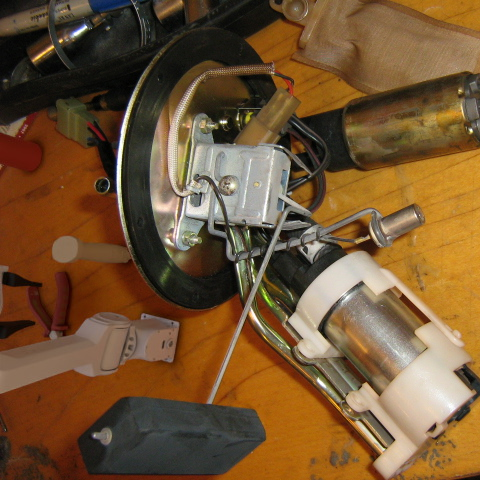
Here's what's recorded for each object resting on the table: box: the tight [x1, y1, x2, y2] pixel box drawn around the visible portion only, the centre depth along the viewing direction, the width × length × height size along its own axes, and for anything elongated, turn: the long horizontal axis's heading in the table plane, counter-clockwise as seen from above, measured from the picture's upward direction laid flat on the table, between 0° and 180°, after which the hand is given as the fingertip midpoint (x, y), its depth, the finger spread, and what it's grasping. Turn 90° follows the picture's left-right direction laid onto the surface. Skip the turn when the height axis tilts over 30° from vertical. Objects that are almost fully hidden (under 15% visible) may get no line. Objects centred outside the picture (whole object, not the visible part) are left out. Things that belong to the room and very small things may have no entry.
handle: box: [51, 235, 132, 264], centre depth 90 cm, size 5×6×15 cm
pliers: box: [25, 271, 70, 340], centre depth 101 cm, size 12×20×3 cm, turn 20°
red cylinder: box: [0, 132, 43, 172], centre depth 106 cm, size 7×7×11 cm
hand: (35, 303), depth 92 cm, fingers open, 7 cm apart
